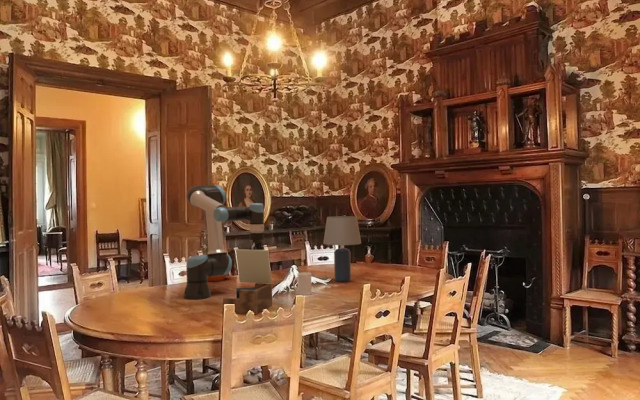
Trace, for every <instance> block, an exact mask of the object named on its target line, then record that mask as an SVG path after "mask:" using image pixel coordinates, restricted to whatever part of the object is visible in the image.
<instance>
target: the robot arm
mask: <svg viewBox="0 0 640 400" xmlns="http://www.w3.org/2000/svg"><path fill="white" fill-rule="evenodd" d="M226 199H227V198H226V192H225V190H224V188H223V187H222V186H220V185H215V184H213V185H212V184H211V185H210V184H209V185H207V184H206V185H205V184H204V185H203V184H202V185H201V184H200V185H193V186H192V187H190V188H189V189H188V190H187V192H186V200H187V202H188V204H189V205H192V206H194V207H195V208H196V207H197V208H200V209H202V210H203V211H205V216H206V217H205V218H206V228H207V229H206V231H207V239H208V241H207V242H208V249H209V250H208V252H207V254H199V255H192V256H190V257H188V258H187V259H186V267H185V268H186V285H185V286H186V287H185V288H184V292H183V298H184V299H185V300H186V299H188V300H200V299H208V298H210V297H212V291H211V289H210V285H209V281H208V277H213V276H222V275H226V274H228V273H230V272H231V270H232V268H231V267H233V260H232V258H231V256H230V255H229V254H228V252H227V250H225V246H224V235H223V226H222V223H225V222H238V221H239V222H240V221H242V222H244V221H247V222H249V232H250V233H249V240H251V241H252V243H251V245H252V246H250V247H249V250H264V246H265V245H264V243H263V240H264V239H265V233H264V231H265V224H264V223H265V209H264V203H261V202H260V203H259V202H258V203H257V202H255V203H254V202H253V203H252V202H251V203H250V204H249V206H245V205H244V206H243V205H242V206H227V205H224V204H225V203H226ZM228 275H229V274H228Z"/></svg>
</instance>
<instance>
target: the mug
mask: <svg viewBox="0 0 640 400" xmlns="http://www.w3.org/2000/svg"><path fill="white" fill-rule="evenodd" d="M296 280H297V287H296V286H295V281H296ZM292 283H293V287H294V289H295V290H297V291H296V292H297V295H298V296H309V295H312V294H313V293H312V273H311V272H298V273H297V275H296V276H295V278H294V280H293V282H292Z"/></svg>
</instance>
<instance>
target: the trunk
mask: <svg viewBox="0 0 640 400" xmlns="http://www.w3.org/2000/svg"><path fill="white" fill-rule="evenodd" d="M254 287H256V288H257V290H239V299H237V298H236V297H235V298H234V297H232V298H231V297H222V306H223V305H224V304H235V312H236V313H235V314H244V315H247V314H246V313H247V312H248V311H249V310H251V311H253V312H254V313H255V314H256V315H259V314H260V313H262V312H263V311H262V310H263V309H266V310H267V309H269V308H271V307H272V306H273V284H272V283H254ZM255 314H254V315H255ZM256 315H255V316H256Z"/></svg>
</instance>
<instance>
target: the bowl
mask: <svg viewBox="0 0 640 400" xmlns="http://www.w3.org/2000/svg"><path fill="white" fill-rule="evenodd" d="M232 267H233V266H232ZM232 267H231V269H232ZM229 273H230V272H229ZM229 273H228V274H226V275H222V276H213V277H208V282H219V281H224V280H225V278H227V277H228V275H229Z"/></svg>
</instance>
